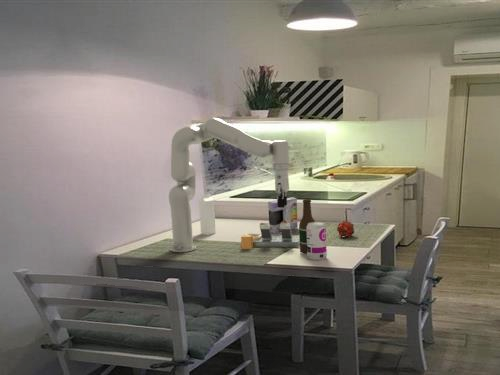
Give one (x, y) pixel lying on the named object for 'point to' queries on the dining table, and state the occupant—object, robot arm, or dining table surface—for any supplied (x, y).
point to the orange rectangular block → (247, 241)
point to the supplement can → (316, 241)
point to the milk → (207, 215)
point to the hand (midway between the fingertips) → (282, 205)
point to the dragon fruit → (345, 229)
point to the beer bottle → (305, 225)
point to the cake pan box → (282, 215)
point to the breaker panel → (274, 241)
